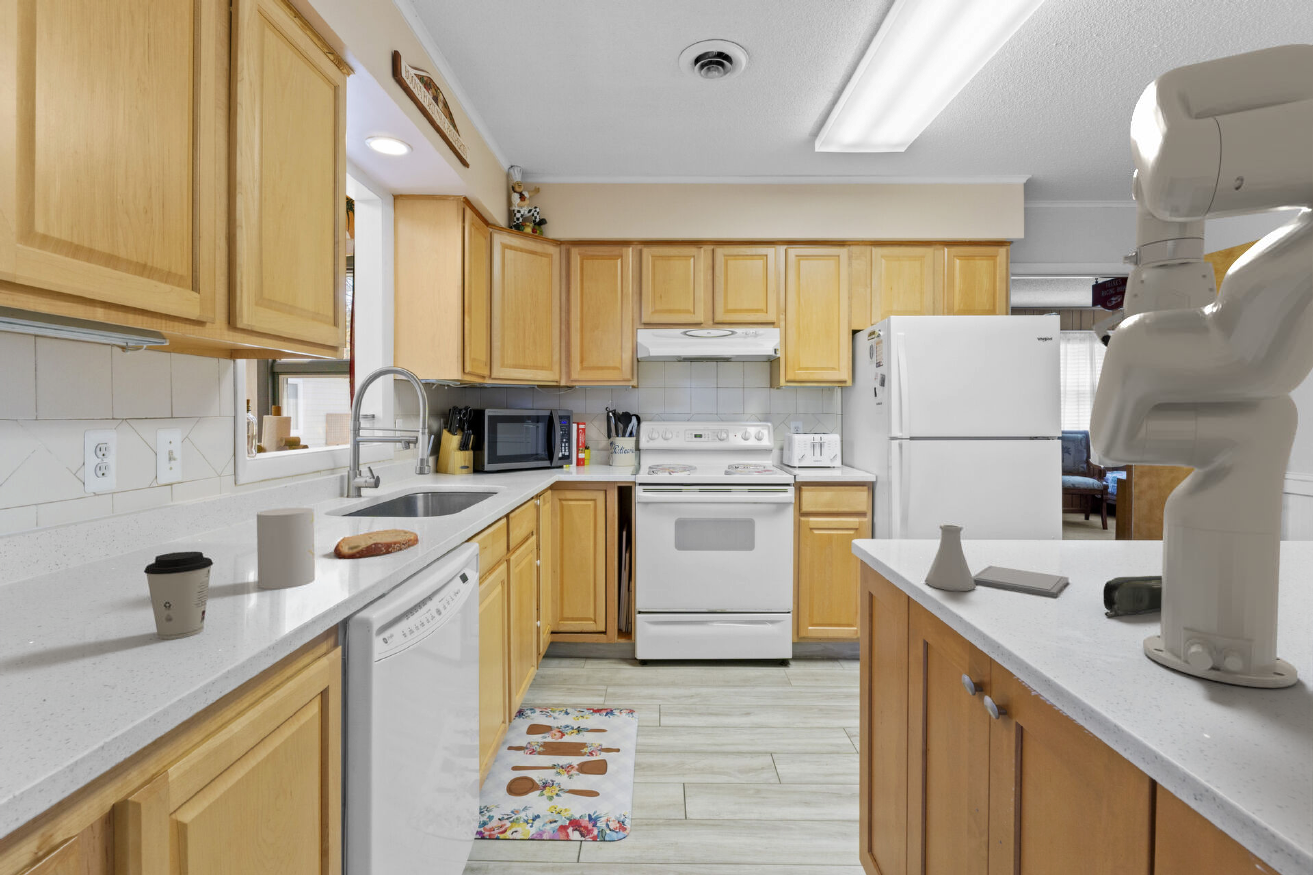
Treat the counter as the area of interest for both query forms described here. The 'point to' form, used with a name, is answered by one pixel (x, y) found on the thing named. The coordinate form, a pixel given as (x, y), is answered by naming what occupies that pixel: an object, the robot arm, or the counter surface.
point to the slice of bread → (375, 544)
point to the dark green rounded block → (1133, 595)
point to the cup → (285, 548)
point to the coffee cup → (179, 593)
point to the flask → (950, 563)
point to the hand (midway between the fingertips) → (1165, 378)
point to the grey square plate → (1021, 581)
